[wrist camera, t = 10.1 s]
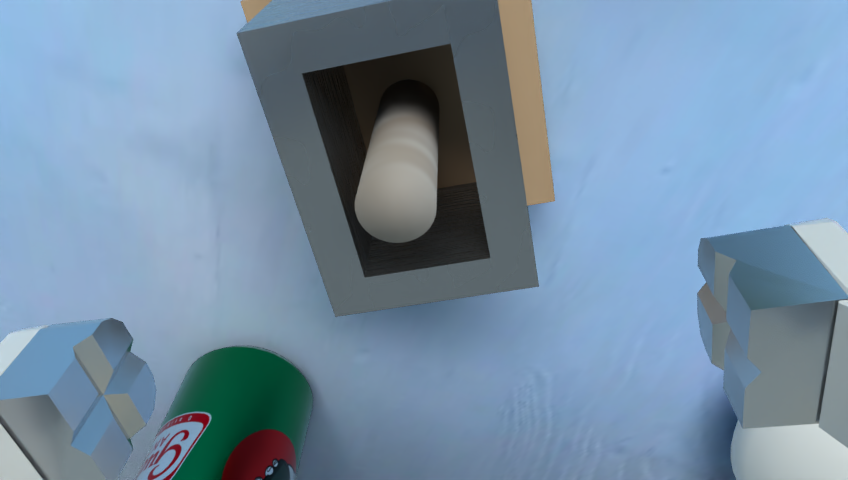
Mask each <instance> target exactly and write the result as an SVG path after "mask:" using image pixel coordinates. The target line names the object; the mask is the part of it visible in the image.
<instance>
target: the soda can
mask: <svg viewBox="0 0 848 480" xmlns="http://www.w3.org/2000/svg"><path fill="white" fill-rule="evenodd" d="M312 408H313V397H312V392H311V389H310V386H309V384H308V382H307V381H306V379H305V378H304V376H303V375H302V374H301V373H300V371H299V370H298V369H297V368H296V367H295V366H294V365H293V364H292V363H290V362H289V361H288V360H286V359H285V358H284V357H282V356H280V355H278V354H276V353H275V352H272V351H270V350H267V349H263V348H259V347H254V346H232V347H226V348H222V349H218V350H214V351H212V352H209V353H207V354H205V355H203V356H202V357H200V358H199V359H198V360H197V361H195V362H194V363H193V364H192V366H191V367H190V369H189V370H188V372H187V374H186V376H185V378H184V380H183V382H182V384H181V386H180V388H179V390H178V392H177V394H176V396H175V398H174V401H173V403H172V405H171V407H170V409H169V411H168V413H167V415H166V417H165V419H164V421H163V423H162V425H161V427H160V429H159V431H158V433H157V435H156V438H155V440H154V442H153V444H152V446H151V448H150V450H149V452H148V454H147V456H146V458H145V460H144V462H143V464H142V466H141V468H140V470H139V472H138V475H137V477H136V479H135V480H296V476H297V471H298V467H299V463H300V459H301V454H302V450H303V446H304V442H305V438H306V433H307V429H308V425H309V421H310V416H311V412H312Z"/></svg>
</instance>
